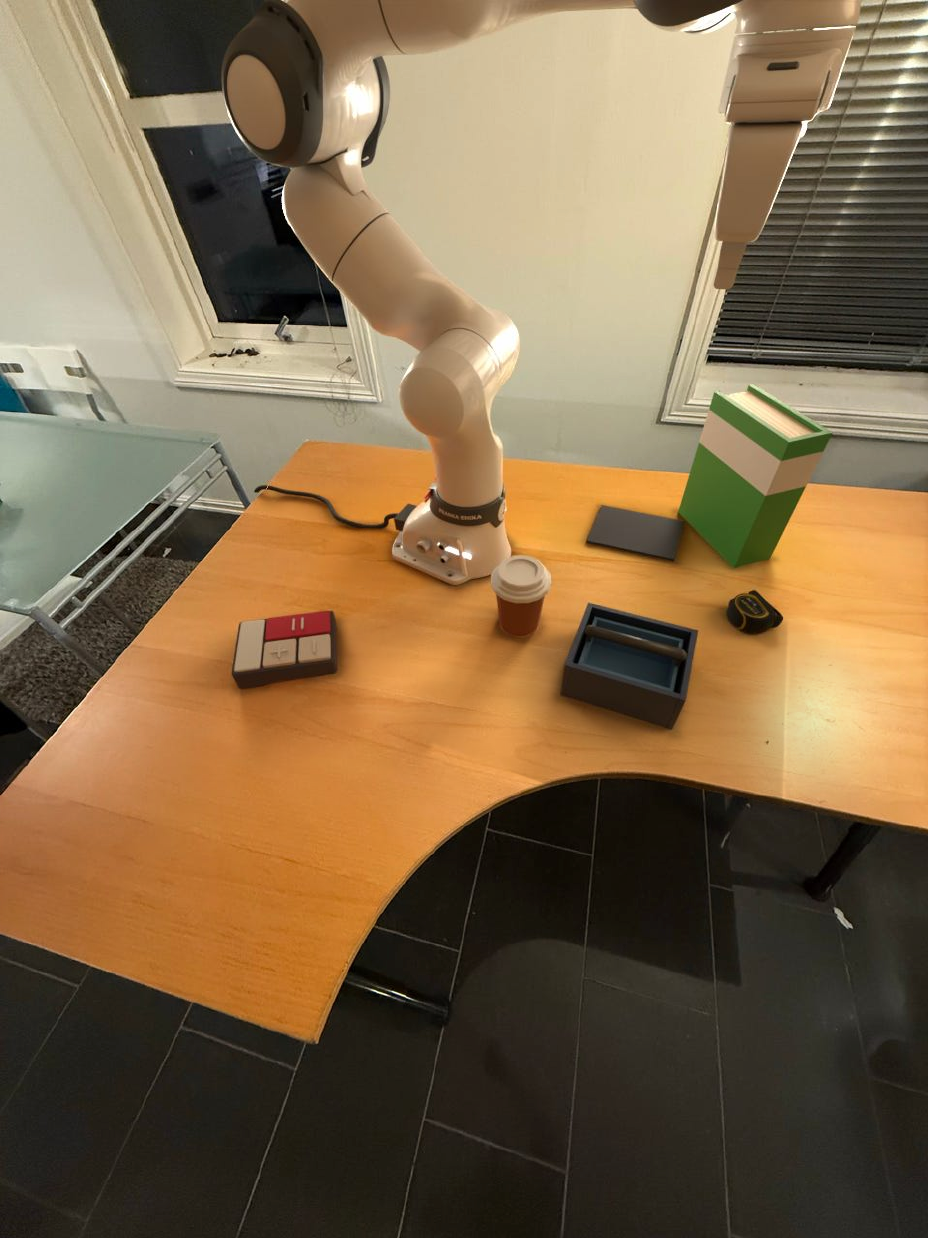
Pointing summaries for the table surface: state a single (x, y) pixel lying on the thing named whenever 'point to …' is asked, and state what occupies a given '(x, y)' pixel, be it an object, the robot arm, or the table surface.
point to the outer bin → (622, 691)
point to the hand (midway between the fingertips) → (726, 273)
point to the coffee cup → (520, 593)
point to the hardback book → (750, 473)
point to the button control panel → (285, 648)
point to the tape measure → (752, 613)
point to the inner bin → (632, 653)
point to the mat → (636, 533)
